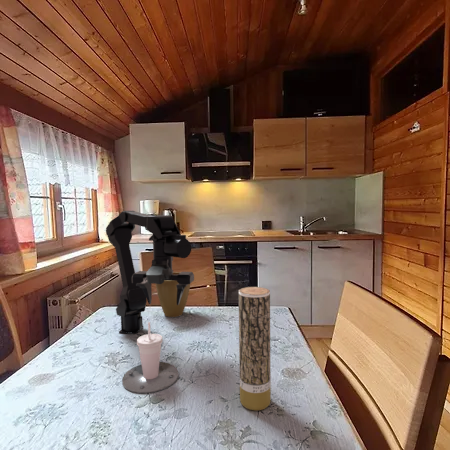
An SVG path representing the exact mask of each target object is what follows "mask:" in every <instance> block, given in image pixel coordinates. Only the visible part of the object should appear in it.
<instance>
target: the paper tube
mask: <svg viewBox="0 0 450 450" xmlns="http://www.w3.org/2000/svg"><path fill="white" fill-rule="evenodd" d="M238 344H239V345H238V354H239V355H238V356H239V357H238V358H239V359H238V361H239V365H238V366H239V370H238V371H239V401H240V403H241V405H242V407H244V408H246V409H247V410H250V411H262V410H265V409H267V408H268V407H269V406H270V404H271V402H272V401H271V400H272V399H271V396H272V395H271V391H272V390H271V387H272V386H271V385H272V384H271V383H272V382H271V380H272V379H271V377H272V376H271V372H272V371H271V367H272V366H271V365H272V364H271V292H270V289H268V288H265V287H263V286H262V287H261V286H246V287H242V288H240V289H238Z"/></svg>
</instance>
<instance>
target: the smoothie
mask: <svg viewBox="0 0 450 450" xmlns="http://www.w3.org/2000/svg"><path fill="white" fill-rule="evenodd" d="M147 332H148V333H147V334H143V335H141V336H139V337H138V338H137V339H136V345H137V346H138V351H139V357H140V363H141V364H142V371H143V377H144V378H145V379H154V378H156V377H157V376H158V372H159V362H161V359H160V358H161V352H162V351H161V349H162V343H163V341H164V340H163V335H161V334H158V333H151V322H150V321H148V322H147ZM141 364H140V365H141Z"/></svg>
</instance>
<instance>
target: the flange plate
mask: <svg viewBox="0 0 450 450" xmlns="http://www.w3.org/2000/svg"><path fill="white" fill-rule="evenodd" d="M179 373H180V372H179V369H178V368H177V367H176V366H175V365H173V364H172V363H169V362H163V361H160V362H159V372H158V376H157V377H156V378H154V379H145V378H144V377H143V371H142V364H138V365H136V366H134V367H133V368H130V369H128V371H126V372H125V373H124V375H123V376H122V379H121V380H122V387H123V388H124V389H125V390H127V391H129V392H131V393H133V394H134V393H135V394H152V393H153V394H154V393H157V392H160V391H163V390H166V389H168V388H169V387H171V386H173V385H174V384H175V383H176V382H177V381H178V379H179V375H180V374H179Z"/></svg>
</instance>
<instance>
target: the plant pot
mask: <svg viewBox="0 0 450 450" xmlns="http://www.w3.org/2000/svg"><path fill="white" fill-rule="evenodd" d="M181 272H182V271H180V272H177V271H173V273H172V274H175V275H178V274H179V273H181ZM177 284H179V283H178V282H177V281H172V280H164V282H163V283H162V284H155V289H156V295H157V298H158V300H159V303H160V307H161V310H162V312H163V315H164V316H165V317H167V318H168V317H169V318H177V317H180V316H182V315H183V314H184V311H185V308H186V304H187V301H188V299H189V298H188V297H189V293H190V290H191V289H190V287H191V284H188V285H187V286H186V287H185V289H184V291H183V294H182V297H181V300H180V303H179V305H177V286H176V285H177Z"/></svg>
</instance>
